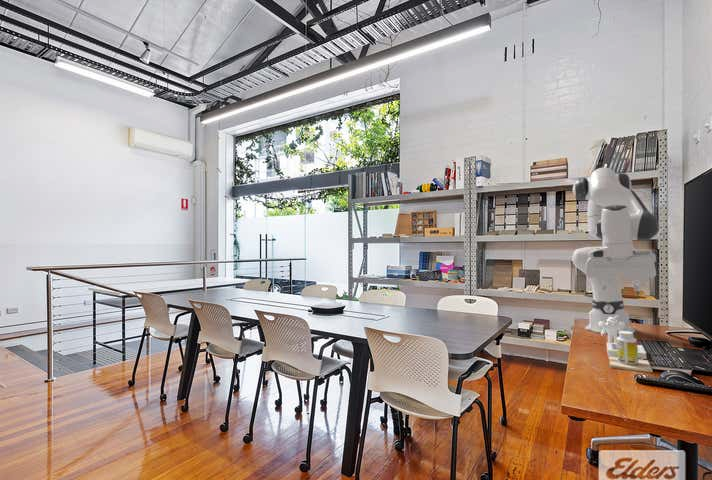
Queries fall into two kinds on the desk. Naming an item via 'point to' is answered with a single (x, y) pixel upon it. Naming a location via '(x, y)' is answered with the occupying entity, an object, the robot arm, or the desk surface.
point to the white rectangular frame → (613, 352)
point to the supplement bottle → (627, 348)
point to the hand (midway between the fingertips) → (620, 290)
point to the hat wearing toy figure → (611, 328)
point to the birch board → (640, 366)
